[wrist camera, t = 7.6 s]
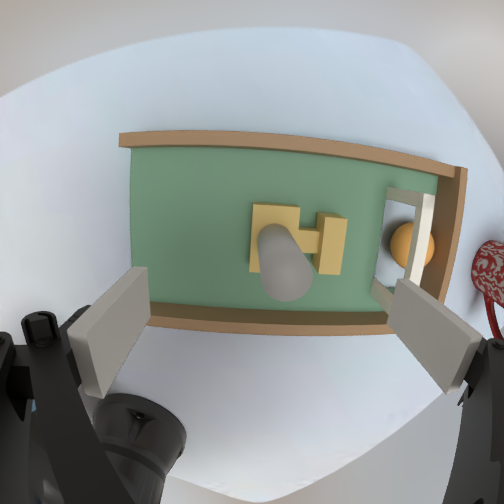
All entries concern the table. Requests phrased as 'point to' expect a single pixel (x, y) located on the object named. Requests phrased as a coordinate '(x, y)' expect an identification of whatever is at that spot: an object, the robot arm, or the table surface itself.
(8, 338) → the robot arm
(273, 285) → the kicker
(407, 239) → the ball
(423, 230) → the pitch
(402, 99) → the table surface
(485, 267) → the mug
